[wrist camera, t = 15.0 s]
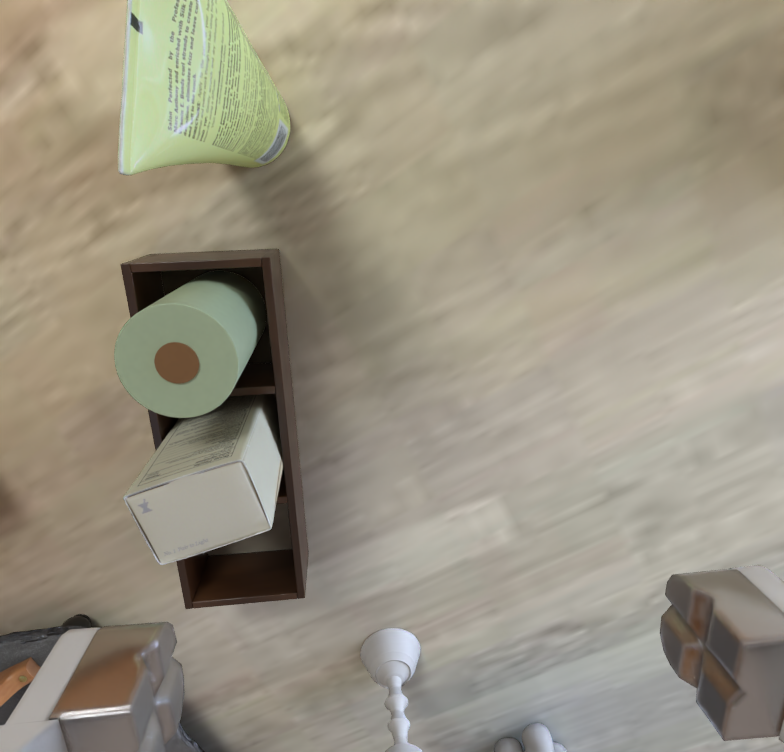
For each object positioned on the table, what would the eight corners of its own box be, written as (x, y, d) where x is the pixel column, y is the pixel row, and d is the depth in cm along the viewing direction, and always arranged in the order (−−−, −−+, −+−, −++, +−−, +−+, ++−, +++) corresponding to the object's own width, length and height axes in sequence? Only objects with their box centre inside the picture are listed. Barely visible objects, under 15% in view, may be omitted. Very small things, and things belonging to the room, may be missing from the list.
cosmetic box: (209, 459, 39) (155, 570, 28) (183, 404, 38) (116, 497, 26) (293, 434, 39) (275, 534, 28) (271, 377, 38) (242, 458, 26)
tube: (181, 95, 32) (-36, -39, 13) (254, 47, 31) (136, -162, 13) (238, 185, 34) (118, 176, 15) (309, 140, 33) (273, 75, 15)
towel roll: (262, 268, 35) (230, 300, 25) (271, 352, 37) (245, 415, 27) (172, 272, 35) (101, 306, 24) (186, 356, 37) (125, 422, 26)
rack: (279, 248, 35) (270, 257, 30) (308, 553, 42) (305, 598, 38) (149, 254, 34) (120, 263, 30) (202, 562, 42) (185, 609, 37)
